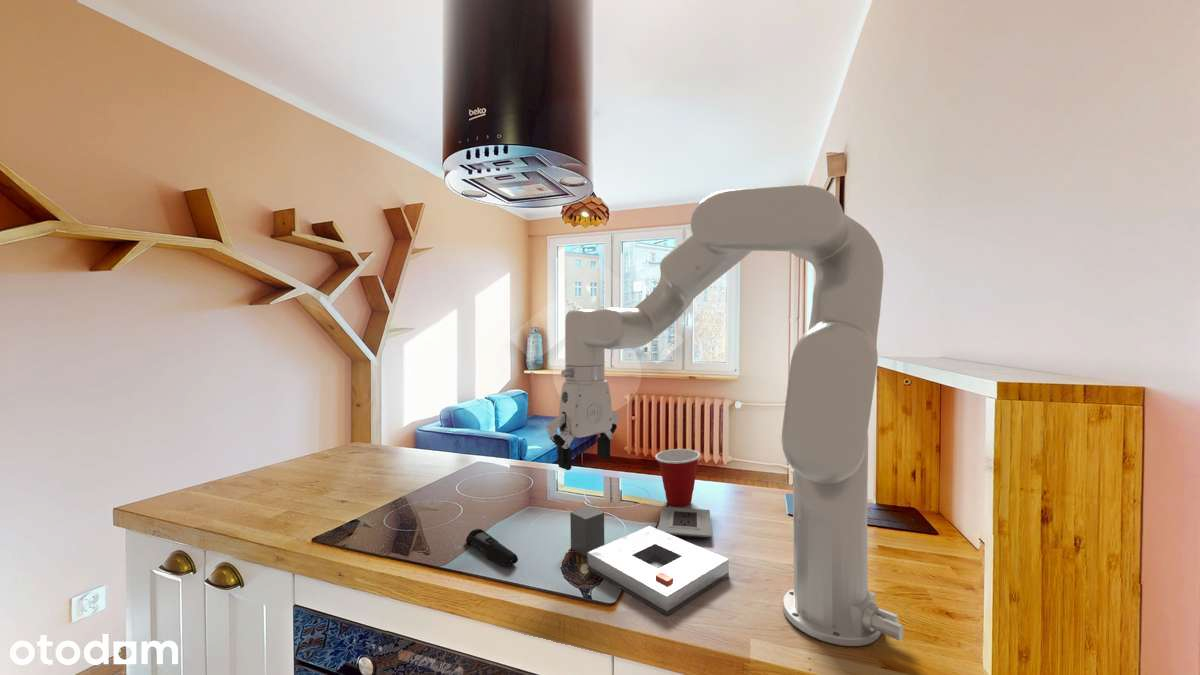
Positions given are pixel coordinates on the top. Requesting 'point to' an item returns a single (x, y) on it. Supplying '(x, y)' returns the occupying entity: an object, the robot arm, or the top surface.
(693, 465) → the plastic cup
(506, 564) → the electric trimmer
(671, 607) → the socket plate
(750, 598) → the top surface
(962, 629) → the top surface
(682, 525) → the electrical outlet
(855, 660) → the top surface
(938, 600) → the top surface
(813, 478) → the robot arm
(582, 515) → the block
